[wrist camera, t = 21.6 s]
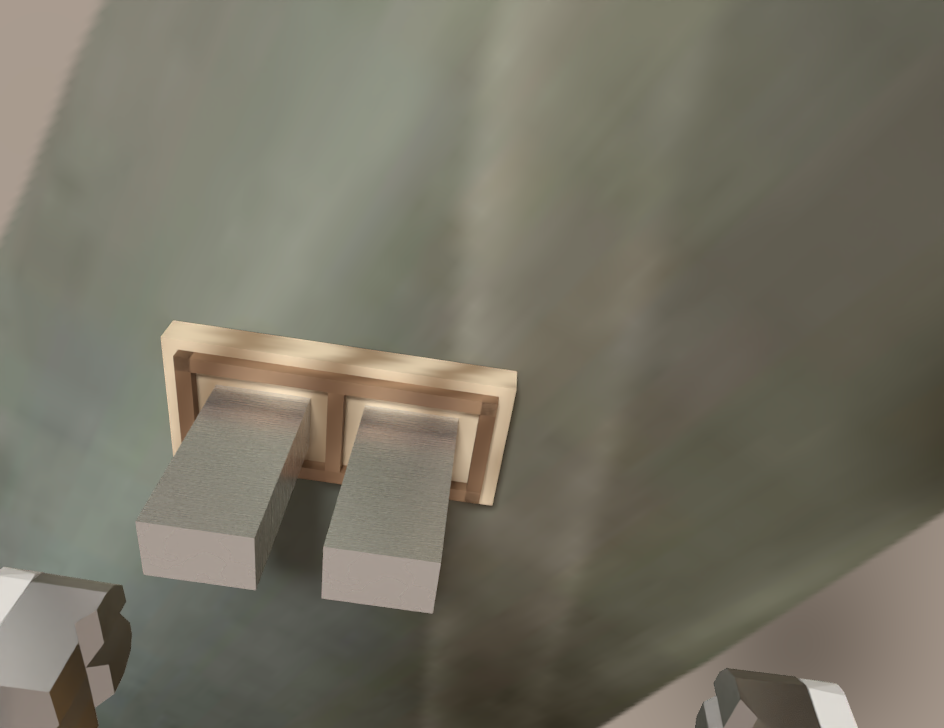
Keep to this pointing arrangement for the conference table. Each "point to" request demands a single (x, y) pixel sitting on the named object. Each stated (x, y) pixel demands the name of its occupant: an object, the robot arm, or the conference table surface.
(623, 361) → the conference table surface
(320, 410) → the wooden compartment tray
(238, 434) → the billet
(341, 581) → the aluminium billet
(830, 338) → the conference table surface
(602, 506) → the conference table surface
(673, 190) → the conference table surface
